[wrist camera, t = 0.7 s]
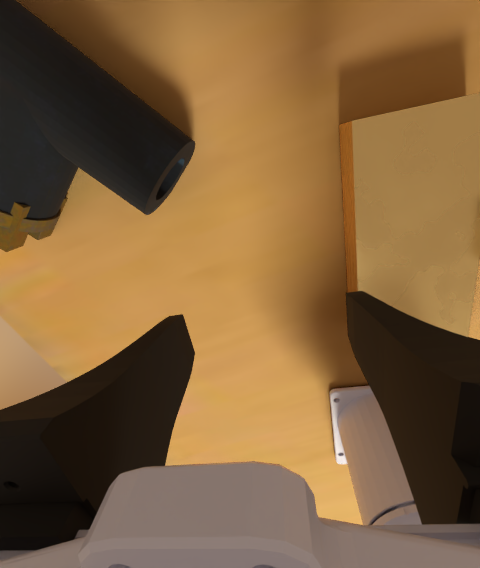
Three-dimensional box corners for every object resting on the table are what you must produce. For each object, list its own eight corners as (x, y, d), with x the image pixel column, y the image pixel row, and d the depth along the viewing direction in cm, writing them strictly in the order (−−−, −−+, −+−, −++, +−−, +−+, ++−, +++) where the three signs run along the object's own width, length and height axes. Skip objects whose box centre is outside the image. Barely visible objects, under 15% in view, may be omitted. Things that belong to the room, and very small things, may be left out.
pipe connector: (83, 307, 18) (-182, 147, 15) (121, 275, 23) (-73, 149, 20) (181, 138, 14) (-162, -130, 11) (202, 142, 18) (-30, -41, 16)
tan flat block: (474, 311, 21) (519, 347, 17) (349, 326, 23) (366, 361, 19) (507, 88, 16) (584, 68, 12) (339, 125, 17) (360, 118, 13)
